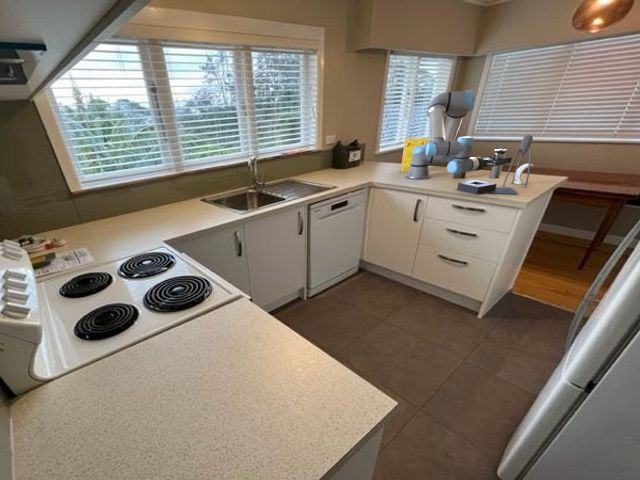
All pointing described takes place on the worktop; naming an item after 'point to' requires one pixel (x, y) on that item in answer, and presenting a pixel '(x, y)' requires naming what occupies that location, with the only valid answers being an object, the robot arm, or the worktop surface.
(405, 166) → the packaging box
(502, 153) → the blade unit
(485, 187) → the blender base
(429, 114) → the robot arm
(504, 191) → the mat
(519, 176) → the curved silver pipe
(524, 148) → the citrus juicer
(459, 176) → the beer bottle
